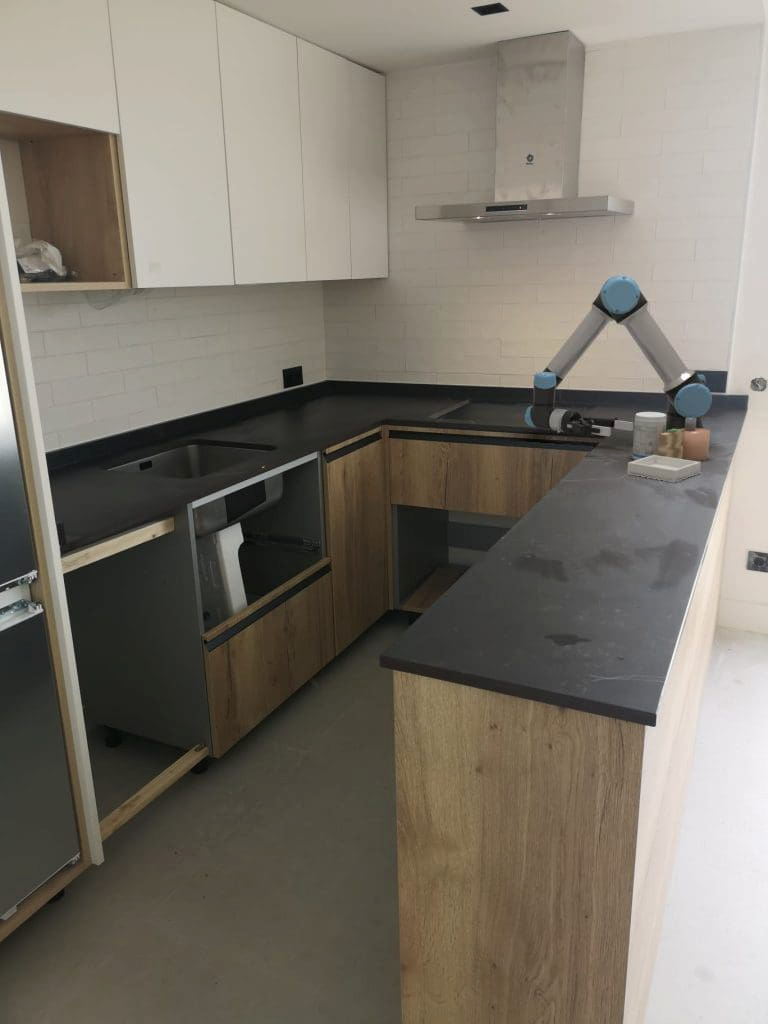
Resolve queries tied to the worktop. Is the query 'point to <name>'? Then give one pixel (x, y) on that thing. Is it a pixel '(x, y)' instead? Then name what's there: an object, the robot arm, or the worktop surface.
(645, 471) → the tray
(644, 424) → the supplement tub
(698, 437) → the peach lotion bottle
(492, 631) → the worktop surface
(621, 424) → the robot arm
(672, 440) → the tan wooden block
